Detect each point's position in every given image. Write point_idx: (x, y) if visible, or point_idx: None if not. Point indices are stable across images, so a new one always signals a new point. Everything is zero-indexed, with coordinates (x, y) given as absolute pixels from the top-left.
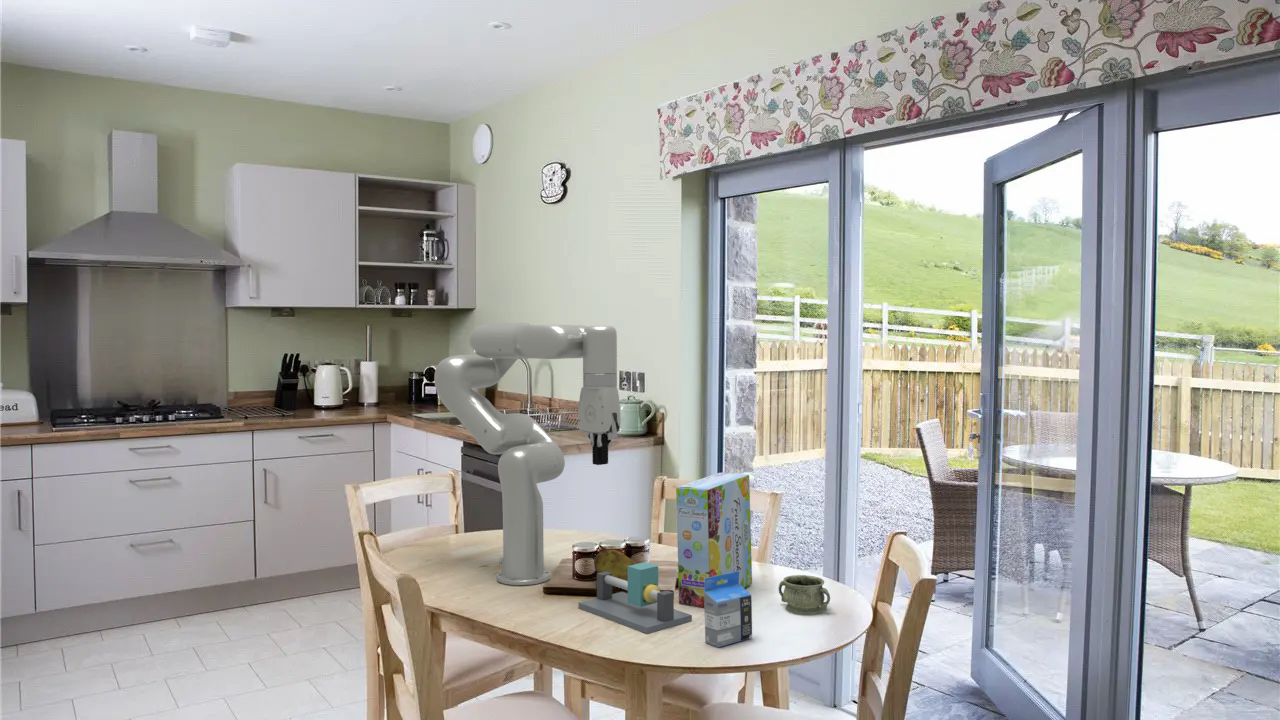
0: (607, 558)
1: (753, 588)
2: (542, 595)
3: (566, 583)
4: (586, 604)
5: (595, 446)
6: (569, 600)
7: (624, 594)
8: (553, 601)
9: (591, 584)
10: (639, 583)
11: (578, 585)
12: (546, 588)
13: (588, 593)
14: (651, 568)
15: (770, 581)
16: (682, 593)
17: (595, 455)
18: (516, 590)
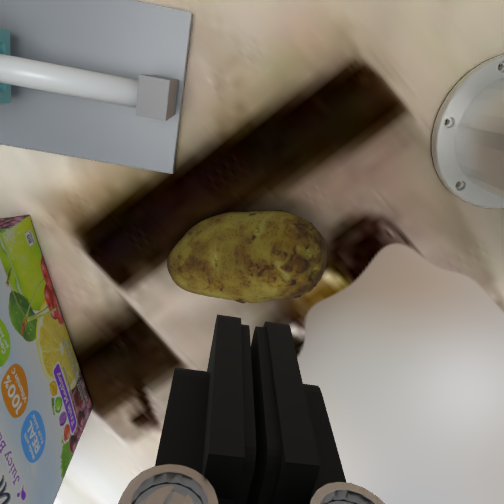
0: (267, 238)
1: None
2: (357, 43)
3: (374, 174)
4: (159, 11)
5: (276, 485)
6: (263, 56)
7: (149, 158)
8: (292, 18)
9: (314, 208)
10: None
11: (336, 180)
12: (390, 104)
13: (266, 141)
14: None
15: None
16: (6, 224)
17: (243, 371)
18: (452, 31)
